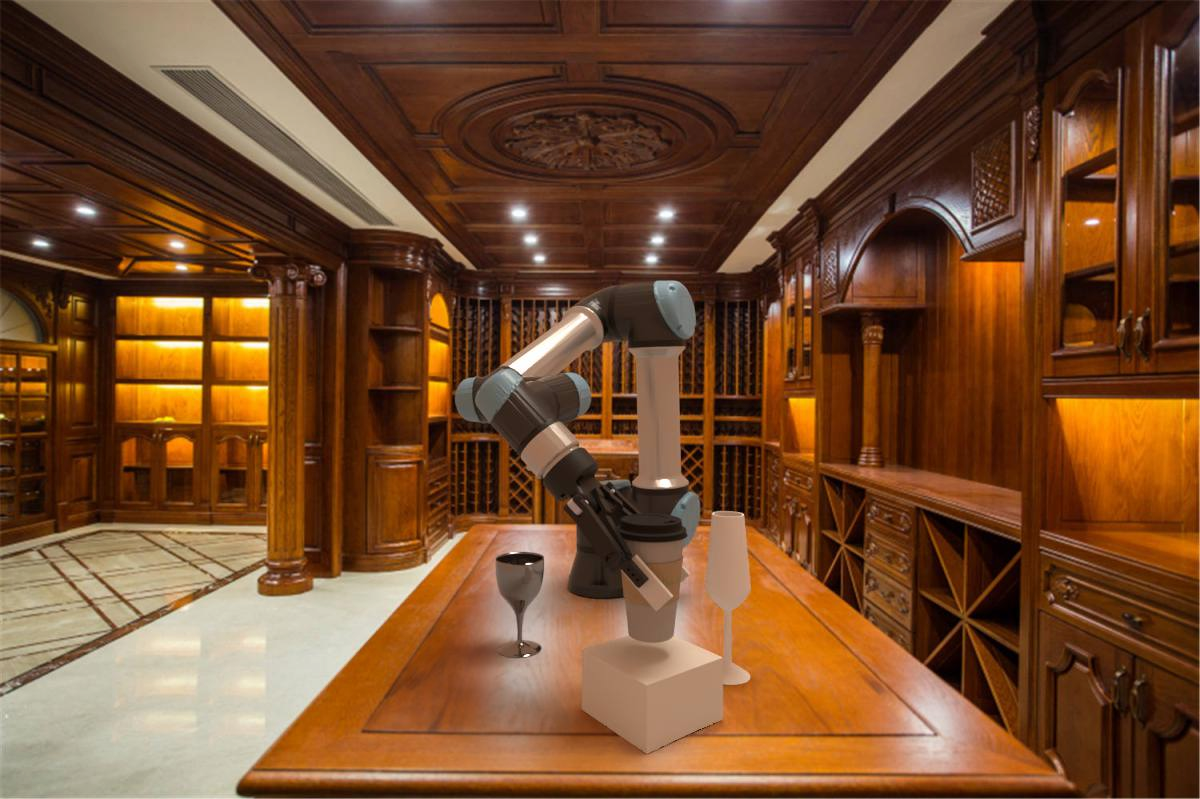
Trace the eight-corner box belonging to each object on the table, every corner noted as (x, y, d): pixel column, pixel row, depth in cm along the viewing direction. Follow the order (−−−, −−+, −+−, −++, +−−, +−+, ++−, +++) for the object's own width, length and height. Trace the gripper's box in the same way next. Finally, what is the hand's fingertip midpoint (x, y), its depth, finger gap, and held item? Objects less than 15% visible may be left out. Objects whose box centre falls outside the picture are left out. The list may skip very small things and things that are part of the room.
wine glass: (551, 643, 106) (551, 554, 106) (531, 661, 98) (531, 566, 98) (509, 637, 108) (509, 550, 108) (486, 654, 101) (486, 561, 101)
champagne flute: (741, 689, 89) (742, 520, 89) (697, 677, 93) (698, 515, 93) (756, 671, 95) (757, 512, 95) (714, 661, 98) (715, 508, 98)
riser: (581, 709, 83) (581, 649, 83) (654, 682, 91) (655, 627, 91) (646, 754, 73) (646, 685, 73) (723, 719, 81) (723, 657, 81)
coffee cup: (684, 651, 76) (685, 527, 76) (608, 644, 78) (608, 524, 78) (689, 624, 85) (689, 513, 85) (620, 618, 87) (621, 511, 87)
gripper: (573, 472, 97) (673, 585, 92) (505, 493, 76) (629, 640, 71) (606, 439, 95) (710, 552, 90) (545, 450, 75) (675, 599, 69)
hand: (674, 591), depth 81 cm, fingers closed on coffee cup, 9 cm apart
